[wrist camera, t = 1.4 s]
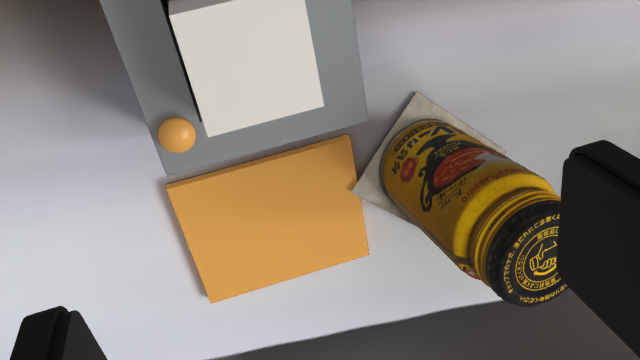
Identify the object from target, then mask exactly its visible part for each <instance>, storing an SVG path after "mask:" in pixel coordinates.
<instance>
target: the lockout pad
mask: <svg viewBox="0 0 640 360" xmlns="http://www.w3.org/2000/svg"><path fill="white" fill-rule="evenodd" d="M356 184H357V176H356V169H355V163H354V157H353V151H352V145H351V138H350V137H349V136H348V134H347V135H343V136H340V137H336V138H333V139H329V140H325V141H322V142H318V143H315V144H311V145H307V146H304V147H300V148H297V149H293V150H289V151H286V152H282V153H279V154H275V155H271V156H268V157H264V158H261V159H257V160H253V161H250V162H246V163H243V164H239V165H235V166H232V167H228V168H225V169H221V170H217V171H214V172H210V173H207V174H203V175H199V176H196V177H192V178H189V179H185V180H181V181H178V182H174V183H171V184H167V185H166V190H167V193H168V195H169V198H170V200H171V203H172V205H173V208H174V210H175V213H176V216H177V218H178V221H179V223H180V226H181V228H182V231H183V234H184V236H185V239H186V241H187V244H188V246H189V249H190V251H191V254H192V257H193V259H194V262H195V264H196V267H197V269H198V272H199V275H200V277H201V280H202V282H203V285H204V287H205V290H206V293H207V295H208V298H209V300H210V303H215V302H218V301H221V300H224V299H227V298H231V297H234V296H237V295H240V294H244V293H247V292H250V291H253V290H257V289H260V288H263V287H266V286H269V285H273V284H276V283H279V282H282V281H286V280H289V279H292V278H295V277H299V276H302V275H305V274H308V273H311V272H315V271H318V270H321V269H324V268H328V267H331V266H334V265H337V264H341V263H344V262H347V261H350V260H353V259H357V258H360V257H363V256H366V255H369V250H368V244H367V237H366V231H365V225H364V219H363V213H362V206H361V200H360V197H359V196H357V195H355V194H353V193H351V191H352V190H353V188H354V187H355V185H356Z"/></svg>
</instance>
